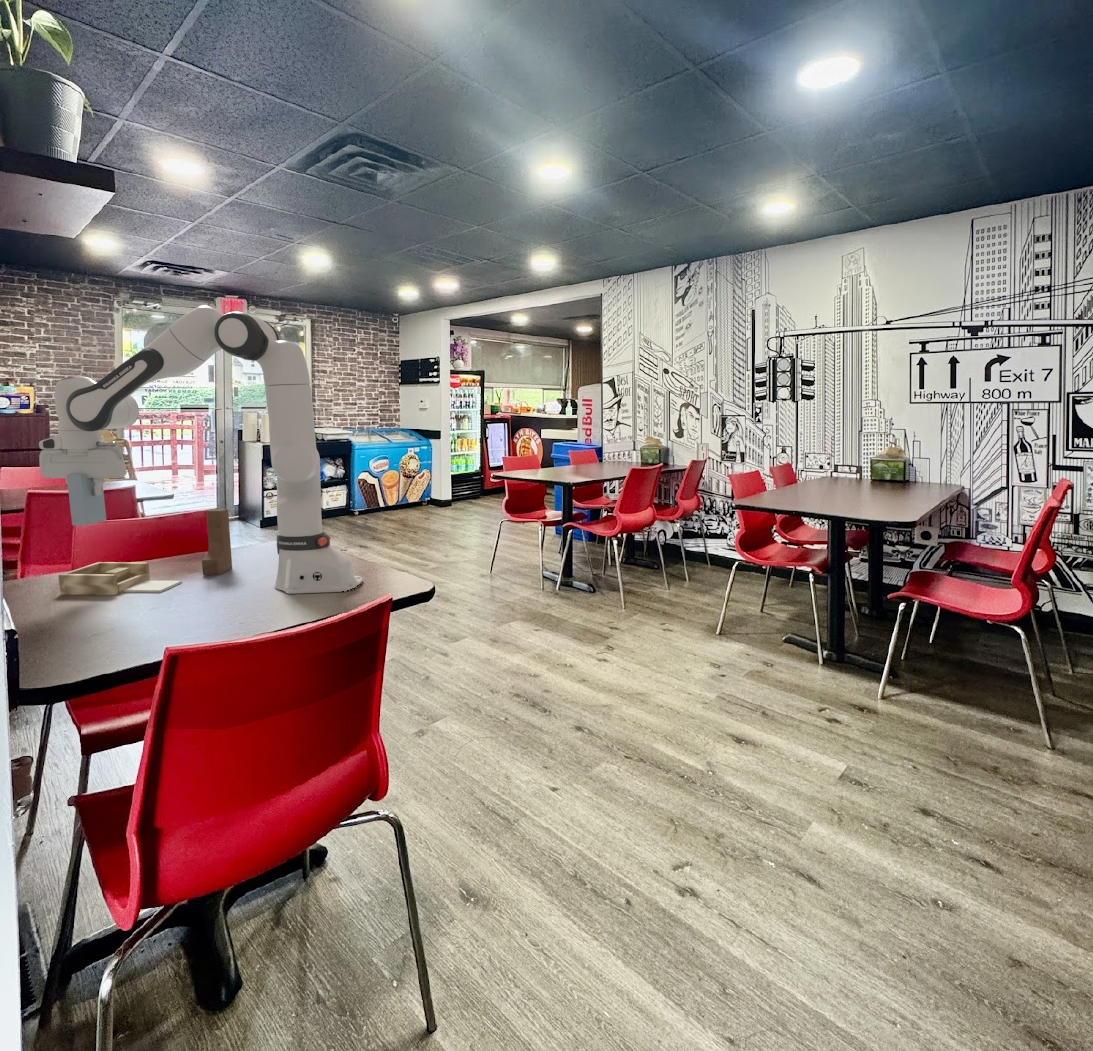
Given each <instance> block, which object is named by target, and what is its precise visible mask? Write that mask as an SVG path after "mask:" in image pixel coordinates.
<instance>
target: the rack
mask: <svg viewBox="0 0 1093 1051" xmlns="http://www.w3.org/2000/svg"><path fill="white" fill-rule="evenodd" d="M149 564H150V563H149V562H133V561H131V562H126V561H123V562H122V561H119V562H115V561H104V562H103V561H97V562H95V563H94V562H93V563H91V564H88V565H85V566H83V567H79V568H76V569H73V570H70V571H68V572H64V573H60V574H58V576H57V577H58V583H59V590H60V591H59V593H60V595H91V596H92V595H93V596H94V595H97V596H100V595H101V596H104V595H107V596H111V595H112V596H116V595H118V594H122V593H124V592H123V590H124V589H126V588H129V587H131V586H134V585H136V584H139V583H141V582H143V581H146V580H151V575H150V565H149ZM116 568H129V570H130V576H132V578H129V579H127V580H124V581H122V582H119V583H117V576H116V575H115V574H104V572H107V571H110V570H113V569H116Z"/></svg>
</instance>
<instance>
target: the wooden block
mask: <svg viewBox="0 0 1093 1051" xmlns="http://www.w3.org/2000/svg"><path fill="white" fill-rule="evenodd" d="M205 514H206V524H207V526H206V527H207V537H208V538H207V540H208V541H207V542H208V551H207V554H206V557H204V558H203V559H202V561H201V568H202V575H203V576H220V575H222V574H224V573H226V572H228V571H230V570H232V569H233V560H232V548H231V546H232V545H231V544H232V543H231V532H230V531H231V530H230V518H229V509H228V508H212V509H209V510H208V509H207V510H206V513H205Z"/></svg>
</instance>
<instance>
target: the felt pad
mask: <svg viewBox="0 0 1093 1051" xmlns="http://www.w3.org/2000/svg"><path fill="white" fill-rule="evenodd" d="M180 584H182V580H151V579H150V580H146V581H143V582H141V583H139V584H136V585H134V586H131V587H129V588H126V589H124V590H123V592H122V593H152V594H153V593H154V594H155V593H160V594H161V593H162V592H165V591H168V590H170V589H172V588H173V587H176V586H177V585H180Z"/></svg>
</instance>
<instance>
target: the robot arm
mask: <svg viewBox="0 0 1093 1051" xmlns="http://www.w3.org/2000/svg"><path fill="white" fill-rule="evenodd" d="M279 336H280V335H279V333H278V332H277V330H276V329H275V327H274V326H273V325H271V324H270V323H269V322H267V321H266V320H262V319H261V318H259V317H258V316H256V315H253V314H250V313H245V312H241V311H231V312H227V313H225V314H222V313H221V312H220V311H219V310H217V309H216V308H214V307H211V306H209V305H200V306H198V307H196V308H194V309H192V310H190V311H189V312H187V313H185V314H184V315H182V316H181V317H180V318H178V319H177V320H175V321H174V322H173V323H172V324H171V325H170V326H168V327H167V328H166V329H165V330H163V332H162V333H160V334H159V335H158V336H157V337H155V339H154V340H152V341H151V342H150V343H148V344H147V345H146V346H144V348H142V349H141V350H139V351H138V352H137V353H135V354H134V355H132V356H131V357H129V358H127V359H126V360H125V361H124V362H122V363H121V364H120V365H119V366H117V367H116V368H115V369H113V370H112V371H111V372H110V373H108V374H107V375H105V376H104V377H102V378H101V379H100V380H99V381H98V382H96V381H95V380H93V379H92V377H91V378H90V377H88V376H70V377H69V376H68V377H64V378H61V379H60V380H58V381H57V382H56V384H55V388H54V406H55V412H56V416H57V417H58V427H57V431H58V434H56V435H54V436H51V437H48V438H46V439H45V438H44V439H43V440H40V441H39V442H38V446H39V449H41V451H40V453H39V457H38V458H39V470H40V474H41V476H43V478H44V479H65V483H66V484H67V485H68V483H67V474H86V475H87V478H93V480H94V483H96V484H95V487H94V489H91V495H92V496H99V495H101V488H102V486H103V487H104V483H105V479H121V478H125V477H126V476H127V472H128V471H127V467H126V462H125V458H124V453H123V452H124V451H123V450H124V449H123V447H122V446H121V445H120V444H119V443H117V442H115V441H102V435H101V431H102V430H115V429H117V430H118V429H124V428H127V427H131V426H132V425H134V424H135V423H136V422H137V420H138V418H139V414H140V410H139V405H138V403H137V401H136V400H135V398H134V397H133V396H132V395H133V394H134V393H135V392H137V391H138V390H139V389H141V388H142V387H143V386H145V385H147V384H148V383H151V382H155V381H158V380H162V379H167V378H169V379H170V378H176V377H182V376H185V375H186V376H187V374H189V373H192V372H193V371H195V370H197V369H198V368H200V367H201V366H202V365H203V364H205V363H206V362H207V361H208V360H209V359H211V358H212V356H214V355H215V354H216V353H217V352H219V351H221V350H223V351H224V352H226V353H227V354H229V355H231V356H233V357H235V358H240V359H243V360H245V361H251V362H252V361H253V362H254V361H255V362H256V363H258V364H259V365H260V366H259V367H260V368H261V370H262V373H263V374H262V375H263V382H264V391H265V400H266V407H267V417H268V432H269V434H268V436H269V448H270V449H269V450H270V462H271V467H272V469H273V473H274V474H275V475H276V485H277V486H276V489H277V490H276V493H277V494H276V518H277V531H278V532H277V534H276V550H277V554H278V555H277V556H278V565H277V574H276V580H275V584H274V588H275V589H276V590H279V591H283V592H284V593H286V594H288V595H289V594H312V593H313V594H314V593H316V594H318V593H320V594H321V593H342V591H344V592H348V591H347V590H349V591H351V590H350V589H352V588H354V587H356V586H357V585H358V584H359V583H361V582H362V583H363V577H362V576H360V575H355V573H354V568H353V564H352V562H351V560H350V559H349V558H348V557H347V556H345V555H344V554H342V553H341V552H339V551H338V550H336V549H335V548H333V547H332V546H331V539H332V534H329V535H328V534H326V533H325V532H324V531H323V521H322V520H323V519H322V497H321V496H322V494H321V493H322V492H321V489H322V488H321V482H322V481H321V459H320V453H319V451H318V449H317V442H316V441H317V440H316V431H315V429H316V428H315V427H316V426H315V415H314V405H313V404H314V403H313V398H312V387H311V379H310V374H309V373H310V372H309V368H308V364H307V361H306V360H307V359H306V357H305V354H304V351H303V349H302V347H300V346H299V344H297V343H295V342H292V341H290V340H289V341H288V340H280V337H279ZM362 583H361V584H362ZM356 588H357V587H356ZM352 590H353V589H352Z"/></svg>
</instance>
